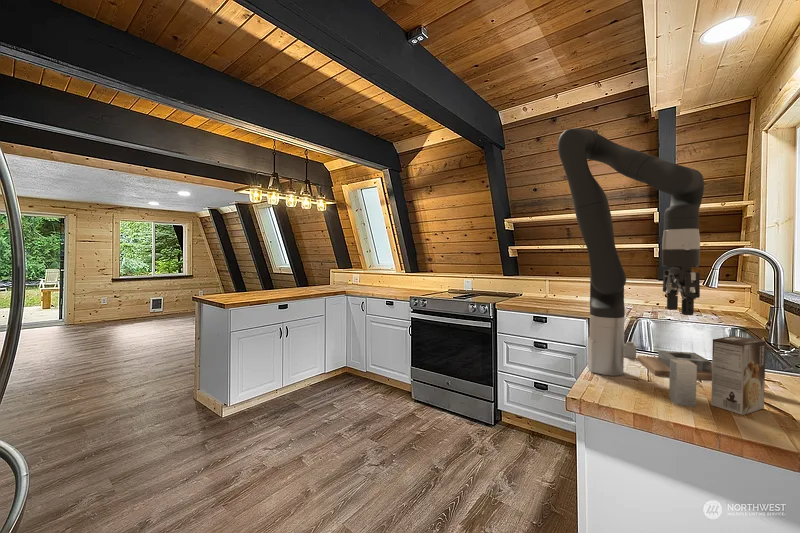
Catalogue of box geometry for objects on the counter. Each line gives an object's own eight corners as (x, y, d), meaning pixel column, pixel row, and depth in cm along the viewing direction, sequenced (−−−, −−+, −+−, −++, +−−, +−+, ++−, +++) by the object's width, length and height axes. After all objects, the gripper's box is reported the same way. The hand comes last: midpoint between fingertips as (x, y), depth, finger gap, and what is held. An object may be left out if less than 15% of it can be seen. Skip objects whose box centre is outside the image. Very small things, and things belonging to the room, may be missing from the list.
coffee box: (731, 398, 91) (733, 335, 91) (764, 408, 86) (767, 340, 85) (709, 405, 88) (711, 338, 87) (743, 416, 82) (746, 344, 81)
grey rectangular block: (636, 357, 128) (636, 334, 127) (635, 358, 126) (636, 335, 126) (612, 354, 132) (613, 332, 131) (612, 355, 130) (612, 332, 130)
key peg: (675, 405, 88) (676, 363, 87) (669, 398, 92) (670, 359, 91) (695, 407, 87) (696, 365, 86) (688, 400, 90) (689, 360, 90)
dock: (654, 375, 109) (655, 360, 109) (637, 360, 124) (637, 346, 124) (737, 382, 103) (737, 366, 103) (708, 365, 118) (708, 351, 118)
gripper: (652, 248, 100) (651, 307, 100) (675, 247, 86) (674, 316, 87) (684, 248, 98) (683, 308, 98) (713, 247, 84) (712, 317, 85)
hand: (679, 312), depth 92 cm, fingers open, 8 cm apart
